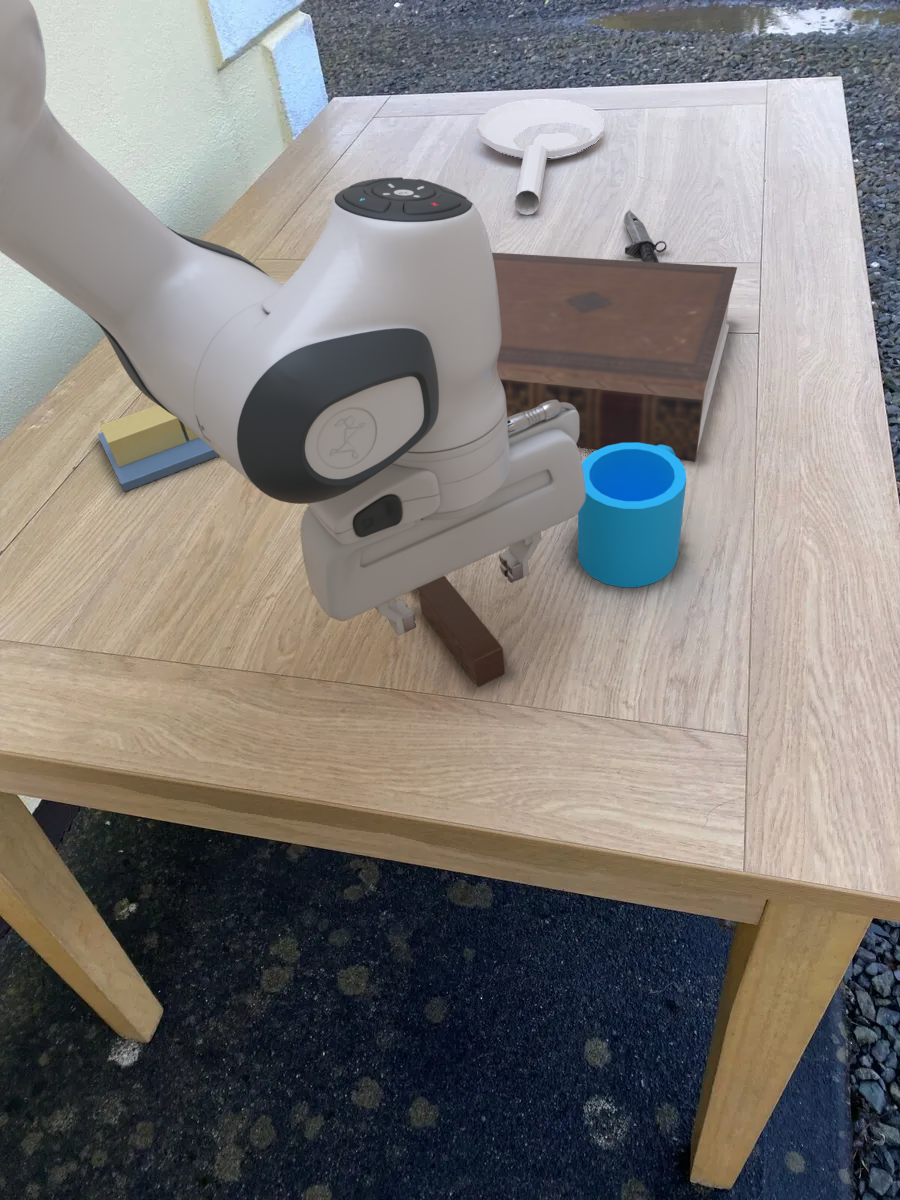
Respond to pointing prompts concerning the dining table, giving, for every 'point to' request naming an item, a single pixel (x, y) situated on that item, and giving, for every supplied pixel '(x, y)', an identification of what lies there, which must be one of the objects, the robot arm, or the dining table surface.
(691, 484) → the dining table surface
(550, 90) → the dining table surface
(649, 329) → the book
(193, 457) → the butter dish
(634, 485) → the mug
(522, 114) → the frying pan
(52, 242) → the robot arm
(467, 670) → the butter knife
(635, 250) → the knife
